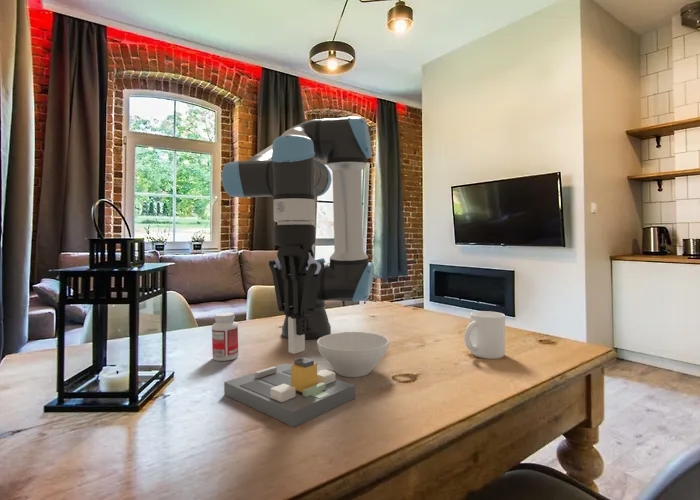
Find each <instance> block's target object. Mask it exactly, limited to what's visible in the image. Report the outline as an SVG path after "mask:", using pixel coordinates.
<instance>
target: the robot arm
mask: <svg viewBox="0 0 700 500" xmlns="http://www.w3.org/2000/svg"><path fill="white" fill-rule="evenodd" d="M371 140H372V139H371V135H370V131H369V126H368V123H367V121H366V119H365V118H363V117H361V116H349V115H348V116H342V117H329V118H316V119H310V120H307V121H304V122H302V123H299V124H297V125H294V126H292V127H291V128H289V129H287V130H285V131H284V132H283V133H282V134H281V135H280V136H278V137H275V139H274V140H273V142H272V144H271V145H269V146H267V147H266V148H265V149H263V150H261V151H259V152H258V153H256V154H255V155H253V156H252V157H250V158H249V159H247V160H236V161H230V162H226V163H225V164H224V166H223V168H222V170H221V184H222V187H223V190H224V191H225V193H226V195H228V196H229V197H232V198H242V199H247V198H263V197H264V198H266V197H272V199H273V222H275V223H277V224H276V225H275V224H274V226H273V244H274V245H275V246H278V249H277V253H276V258H274V259H273V260H269V261H268V267H269V269H270V271H271V273H272V274H271V275H272V281H273V284H274V285H273V286H274V291H275V299H276V302H277V303H276V304H277V309H278V311H279V312H283V313H284V316H285V317H284V320H283V324H282V325H281V335H282V336H283V337H284V338H287V340H288V346H287V347H288V353H291V354H298V353H301V352H303V351H305V350H306V340H314V339H319V338H321V337H323V336H326V335H329V334H332V333H331V332H332V329H331V327H332V326H331V323H330V321H329V317H328V315H327V311H326V303H325V301H327V302H330V301H332V302H337V301H338V302H352V303H354V302H363V301H367V300H368V299H369V297H370V295H371V291H372V287H373V280H374V271H375V269H374V266H375V265H374V263H372V262H370V261H369V256H368V255H367V254H366V252H364V240H363V234H364V233H363V189H362V188H363V186H362V184H363V183H362V181H363V180H362V171H363V169H364V168H365V167H366V166H367V159H369V158H372V154H373V152H372V141H371ZM321 160H322V161H321ZM323 160H325V161H326V165H325V163H324V162H323ZM330 170H331V172H330ZM331 173H332V174H331ZM331 184H332V201H333V202H332V203H333V204H332V205H333V208H332V209H333V210H332V211H333V240H334V241H333V243H334V244H333V245H334V252H333V253H332V254H331V255H330V257H329V262H326V260H325V258H324V257H318V258H315V254H314V250H313V245H315V243H316V226H315V225H314V224H313V222H315V221H316V203H315V202H316V199H315V198H316V197H320V196H321V197H322V196H323V195H324V194H326V193H327V192H328V191H329V189H330V187H331Z"/></svg>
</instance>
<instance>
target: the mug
mask: <svg viewBox="0 0 700 500" xmlns="http://www.w3.org/2000/svg"><path fill="white" fill-rule="evenodd" d="M464 343H465V347H466V348H467V349H468V350H469V351H470V353H471V354H472V355H473V356H475V357H477V358H480V359H487V360H488V359H489V360H491V359H495V360H497V359H498V360H499V359H502V358H503V357H504V356H505V354H506V315H505V314H504V313H502V312H497V311H489V310H488V311H487V310H480V311H479V310H477V311H472V312H470V322H469V324H468V325H467V327H466V329H465V332H464Z"/></svg>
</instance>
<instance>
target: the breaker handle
mask: <svg viewBox="0 0 700 500" xmlns="http://www.w3.org/2000/svg"><path fill="white" fill-rule="evenodd" d="M290 365H291V386H292V387H295V390H297V391H300V392H302V393H303V389H306V388H308V387H311V386H314V385H316V384H317V372H318V363H315V360H313V359H310V358H306V357H300V358H296V359H294V363H293V364H290Z"/></svg>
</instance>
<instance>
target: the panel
mask: <svg viewBox="0 0 700 500" xmlns="http://www.w3.org/2000/svg"><path fill="white" fill-rule="evenodd" d="M291 365H292V364H289V363H286V362H284V363H281V364H278V365H275V366H271V367H267V368H263V369H260V370H257V371H254V372H252V373H249V374H246V375H242V376H239V377H237V378H233V379H230V380H227V381H224V382H223V383H224V384H223V388H224V390H223V391H224V395H223V396H225V397H228V398H230V399H232V398H233V399H232V400H234V401H236V400H237V402H238V401H239V402H238V403H240V402H241V404H243V405H245V404H246V405H245V406H247V405H248V406H247V407H249V406H250V407H249V408H251V407H252V409H253V408H254V409H253V410H255V409H256V410H255V411H257V410H259V411H261V412H260V413H262V412H263V413H262V414H264V413H266V414H268V415H270V416H272V417H274V418H275V419H274V418H273V419H274V420H276V419H278V420H277V421H279V420H280V421H279V422H281V423H283V422H284V423H283V424H285V423H286V424H285V425H287V424H288V425H287V426H289V425H290V426H289V427H291V426H292V427H291V428H294V427H297V426H298V425H301V424H303V423H305V422H308V421H310V420H311V419H315V418H317V417H318V416H320V415H322V414H324V413H327V412H329V411H331V410H333V409H335V408H337V407H339V406H342V405H343V404H346V403H348V402H351V401H352V400H354V399H356V385H355V384H353V383H350V382H346V381H345V380H344V381H343V380H340V379H336V371H332V370H328V369H325V368H324V369H321V370H317V384H316V385H314V386H311V387H308V388H306V389H303V393H302V392H300V391H297V390H295V387H292V386H291ZM259 411H258V412H259ZM266 414H265V415H266ZM268 415H267V416H268ZM270 416H269V417H270ZM272 417H271V418H272Z"/></svg>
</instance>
